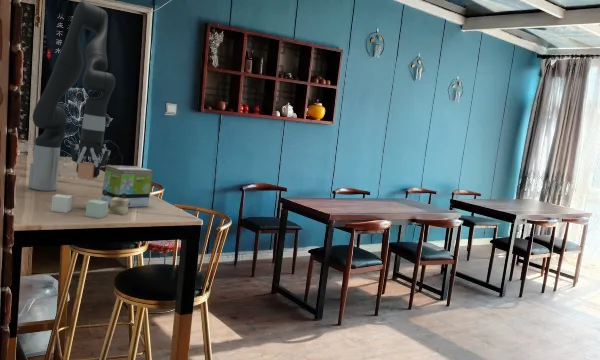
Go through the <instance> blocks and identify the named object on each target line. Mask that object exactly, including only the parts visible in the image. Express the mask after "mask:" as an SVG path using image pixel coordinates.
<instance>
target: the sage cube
mask: <svg viewBox="0 0 600 360" xmlns="http://www.w3.org/2000/svg"><path fill="white" fill-rule="evenodd" d="M108 203H109V202H106V201H101V199H91V200H86V208H85V214H84V215H85V216H87V217H91V218H95V219H102V218H105V217H107V216H108V212H109V210H108V209H109V205H108Z"/></svg>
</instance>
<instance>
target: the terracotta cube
mask: <svg viewBox="0 0 600 360" xmlns="http://www.w3.org/2000/svg"><path fill="white" fill-rule="evenodd" d="M94 167H95V164H94V162H89V161H88V162H87V161H84V162H82V163H79V165H78V173H77V172H76V173H77V174H76V177H77V178H81V179H87V180H94V179H98V176H97V177H93V173H94Z"/></svg>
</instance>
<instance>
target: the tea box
mask: <svg viewBox="0 0 600 360" xmlns="http://www.w3.org/2000/svg"><path fill="white" fill-rule="evenodd" d="M153 172H154V171H153V170H152V169H149V168H145V167H142V166H138V165H137V166H136V165H111V164H110V165H107V164H106V165H105V169H104V177H103V184H102V192H101V199H100V200H101V201H106V202H109V203H108V207H110V205H111V199H113V198H114V197H118V198H125V199H129V205H128V208H131V207H133V208H134V207H139V208H140V207H148V206H149V202H150V201H149V200H150V195H151V187H152V182H153V181H152V180H153Z"/></svg>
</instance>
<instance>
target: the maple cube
mask: <svg viewBox="0 0 600 360" xmlns="http://www.w3.org/2000/svg"><path fill="white" fill-rule="evenodd" d="M128 205H129V199H125V198H118V197H114V198H113V199H111V205H110V206H109V213H110V214H114V215H115V214H116V215H122V216H125V215H126V214H128V211H129V207H128Z"/></svg>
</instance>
